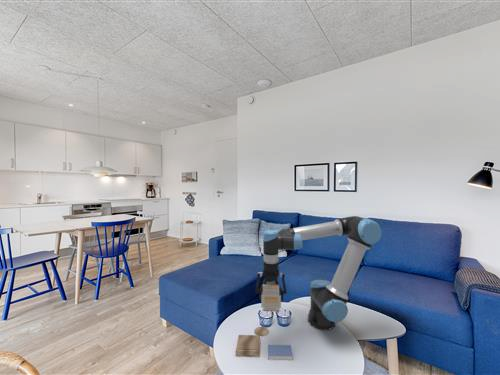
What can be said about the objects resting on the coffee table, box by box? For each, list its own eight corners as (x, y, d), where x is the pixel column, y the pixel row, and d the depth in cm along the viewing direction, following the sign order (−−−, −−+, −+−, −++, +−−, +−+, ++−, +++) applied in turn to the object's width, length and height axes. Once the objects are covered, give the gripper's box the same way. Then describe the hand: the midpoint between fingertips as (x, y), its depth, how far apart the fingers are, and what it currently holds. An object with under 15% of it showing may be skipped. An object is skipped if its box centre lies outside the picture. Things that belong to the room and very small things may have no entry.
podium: (260, 340, 118) (260, 334, 118) (259, 356, 107) (259, 350, 107) (238, 340, 119) (238, 334, 119) (235, 355, 108) (235, 349, 108)
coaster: (269, 327, 129) (268, 326, 129) (269, 337, 121) (269, 336, 121) (254, 327, 130) (254, 326, 130) (253, 336, 122) (253, 335, 122)
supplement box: (279, 307, 119) (279, 281, 119) (279, 312, 114) (279, 285, 114) (263, 306, 120) (263, 281, 120) (262, 311, 115) (262, 285, 115)
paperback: (268, 349, 112) (267, 344, 112) (290, 349, 112) (290, 345, 111) (268, 360, 105) (268, 355, 105) (292, 361, 104) (292, 355, 104)
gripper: (291, 259, 119) (291, 303, 120) (250, 258, 121) (250, 302, 121) (292, 264, 112) (292, 311, 112) (249, 263, 114) (249, 309, 114)
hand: (271, 306), depth 117 cm, fingers closed on supplement box, 8 cm apart
